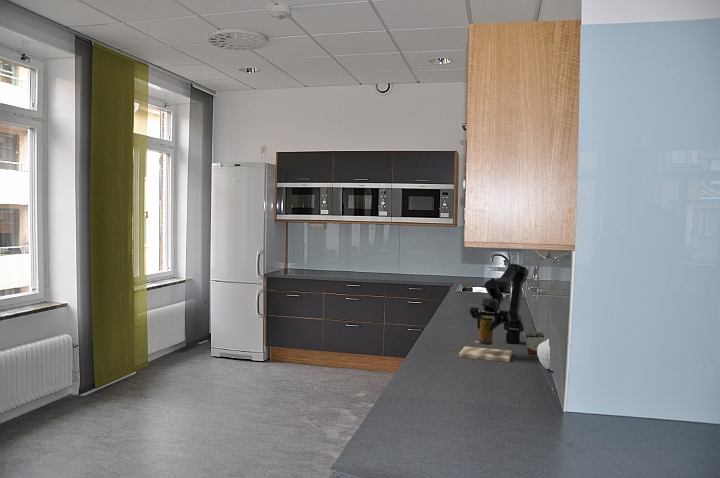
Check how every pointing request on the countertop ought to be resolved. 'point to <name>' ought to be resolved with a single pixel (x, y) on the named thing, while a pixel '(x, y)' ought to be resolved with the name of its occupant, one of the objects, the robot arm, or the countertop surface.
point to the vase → (544, 353)
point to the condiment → (486, 331)
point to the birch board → (485, 354)
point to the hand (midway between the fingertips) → (484, 329)
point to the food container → (533, 342)
